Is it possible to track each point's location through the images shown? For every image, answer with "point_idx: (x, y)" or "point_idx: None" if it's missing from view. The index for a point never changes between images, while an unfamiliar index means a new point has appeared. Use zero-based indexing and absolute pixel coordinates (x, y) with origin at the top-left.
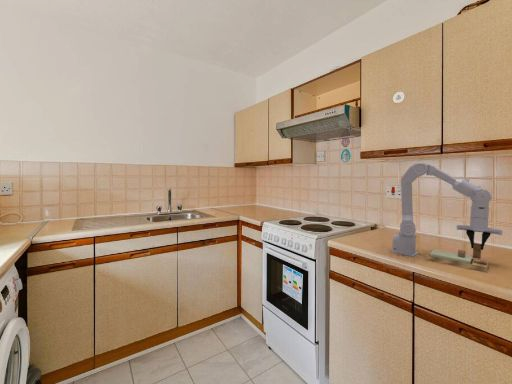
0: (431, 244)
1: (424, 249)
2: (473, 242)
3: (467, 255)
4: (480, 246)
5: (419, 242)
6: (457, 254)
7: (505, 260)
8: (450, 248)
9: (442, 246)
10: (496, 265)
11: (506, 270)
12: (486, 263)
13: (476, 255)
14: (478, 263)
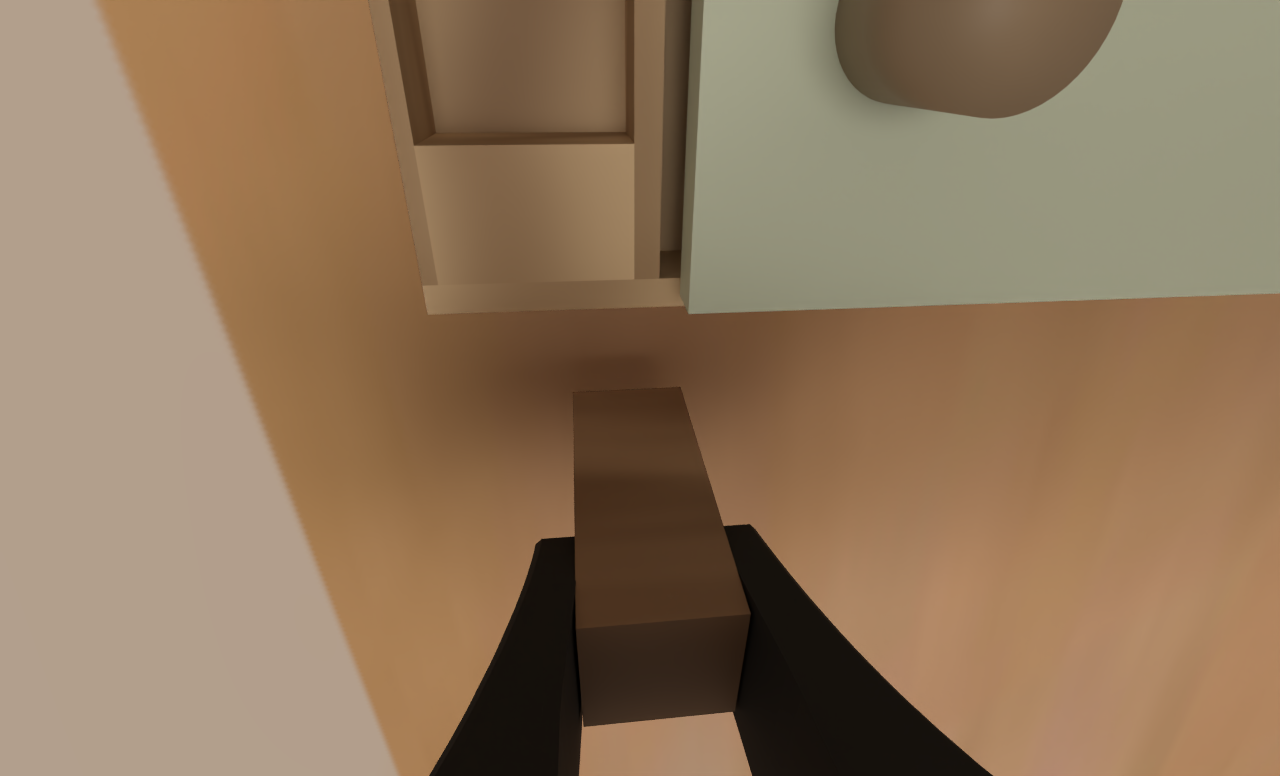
0: (1035, 757)
1: (1172, 548)
2: (763, 675)
3: (779, 273)
4: (585, 587)
5: (1140, 745)
6: (965, 192)
7: (399, 732)
8: None
9: None
10: (408, 490)
11: (241, 341)
12: (429, 146)
13: (633, 423)
14: (566, 138)
